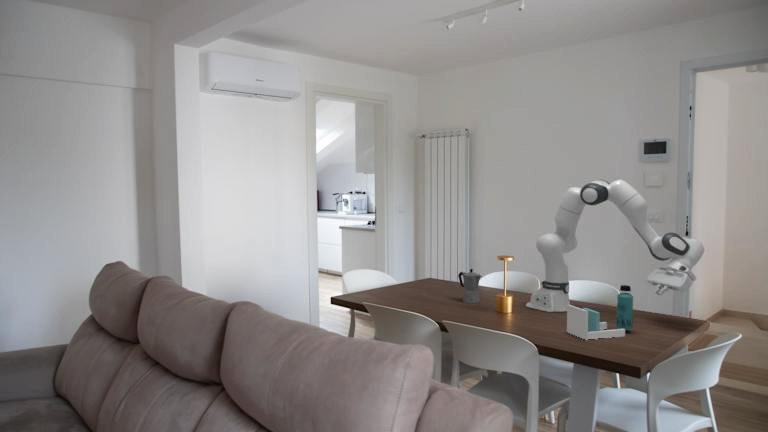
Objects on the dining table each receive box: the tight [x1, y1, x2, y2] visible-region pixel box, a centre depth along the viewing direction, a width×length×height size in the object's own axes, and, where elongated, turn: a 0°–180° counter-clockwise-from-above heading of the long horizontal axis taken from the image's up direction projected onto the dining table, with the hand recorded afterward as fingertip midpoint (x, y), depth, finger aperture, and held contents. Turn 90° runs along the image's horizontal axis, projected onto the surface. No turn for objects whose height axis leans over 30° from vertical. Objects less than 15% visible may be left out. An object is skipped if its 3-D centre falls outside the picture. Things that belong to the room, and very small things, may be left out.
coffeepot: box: [457, 268, 482, 304], centre depth 288 cm, size 15×9×18 cm, turn 44°
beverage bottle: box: [615, 284, 634, 331], centre depth 226 cm, size 6×7×20 cm
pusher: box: [582, 307, 601, 332], centre depth 222 cm, size 2×9×10 cm, turn 15°
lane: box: [566, 304, 626, 341], centre depth 222 cm, size 19×12×12 cm, turn 105°
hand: (658, 294), depth 230 cm, fingers closed
